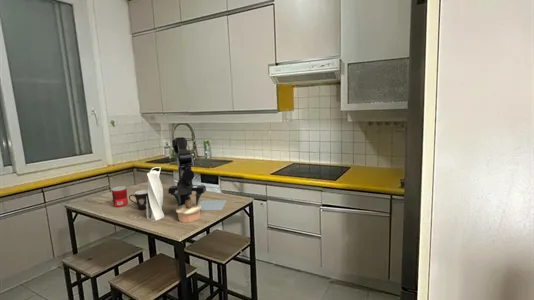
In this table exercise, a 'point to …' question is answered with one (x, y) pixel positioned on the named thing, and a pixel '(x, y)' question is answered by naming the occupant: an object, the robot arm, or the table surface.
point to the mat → (212, 204)
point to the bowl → (189, 217)
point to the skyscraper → (154, 196)
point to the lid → (188, 208)
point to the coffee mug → (141, 199)
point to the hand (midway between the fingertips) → (188, 205)
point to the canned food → (119, 196)
